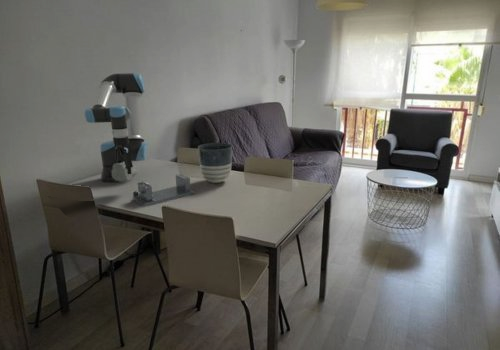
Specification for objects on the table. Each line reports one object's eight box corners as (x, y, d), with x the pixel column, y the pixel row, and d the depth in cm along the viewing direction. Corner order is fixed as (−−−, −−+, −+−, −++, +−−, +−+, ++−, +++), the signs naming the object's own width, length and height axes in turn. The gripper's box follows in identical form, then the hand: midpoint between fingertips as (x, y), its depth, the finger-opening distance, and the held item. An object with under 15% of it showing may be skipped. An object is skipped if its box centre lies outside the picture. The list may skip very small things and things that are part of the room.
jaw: (129, 198, 189) (128, 184, 187) (144, 194, 194) (142, 180, 191) (138, 203, 181) (136, 188, 179) (152, 199, 186) (151, 185, 184)
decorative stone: (115, 184, 190) (126, 168, 189) (104, 173, 195) (114, 157, 194) (133, 189, 201) (143, 174, 200) (122, 178, 206) (132, 163, 205)
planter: (193, 184, 215) (191, 148, 209) (209, 175, 232) (208, 142, 226) (224, 188, 208) (222, 150, 202) (238, 178, 225) (237, 144, 219)
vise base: (132, 199, 192) (131, 182, 190) (180, 187, 209) (179, 172, 207) (144, 206, 182) (142, 189, 179) (193, 193, 199) (192, 177, 196)
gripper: (105, 134, 197) (110, 173, 204) (122, 141, 181) (127, 184, 188) (119, 132, 202) (123, 171, 209) (136, 138, 185) (141, 180, 192)
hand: (125, 177), depth 198 cm, fingers closed on decorative stone, 10 cm apart
